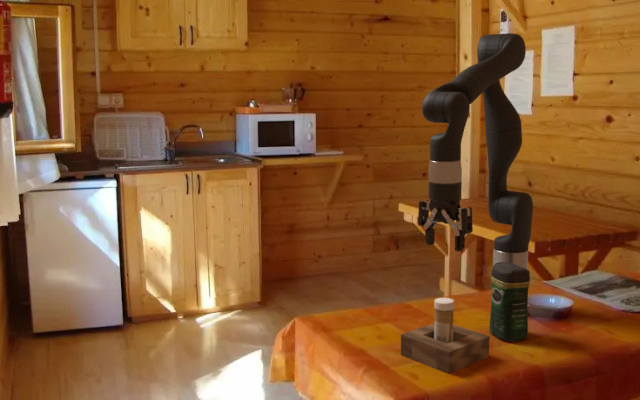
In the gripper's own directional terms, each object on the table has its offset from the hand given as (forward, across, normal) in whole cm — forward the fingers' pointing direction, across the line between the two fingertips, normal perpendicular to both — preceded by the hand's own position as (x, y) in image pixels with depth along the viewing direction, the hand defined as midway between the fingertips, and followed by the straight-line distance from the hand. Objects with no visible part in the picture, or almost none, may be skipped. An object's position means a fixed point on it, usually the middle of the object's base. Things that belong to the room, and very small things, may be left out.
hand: (444, 247), depth 170 cm
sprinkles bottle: (+25, -3, +4) cm, 25 cm away
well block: (+25, -4, +4) cm, 25 cm away
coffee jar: (+25, -6, -18) cm, 32 cm away
